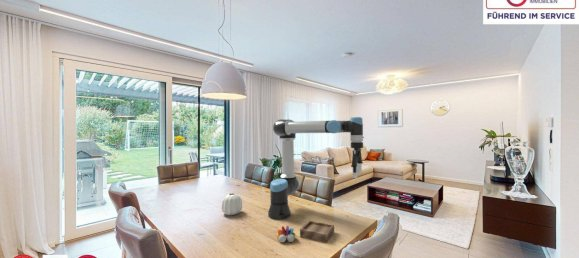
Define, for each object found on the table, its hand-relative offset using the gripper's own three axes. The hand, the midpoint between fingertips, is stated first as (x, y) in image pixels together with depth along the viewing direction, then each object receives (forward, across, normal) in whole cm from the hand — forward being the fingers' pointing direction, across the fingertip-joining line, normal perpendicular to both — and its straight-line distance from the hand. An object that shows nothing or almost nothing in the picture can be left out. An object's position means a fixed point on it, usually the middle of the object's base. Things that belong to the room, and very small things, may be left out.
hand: (357, 175), depth 147 cm
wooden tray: (+28, -29, +16) cm, 44 cm away
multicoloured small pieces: (+28, -41, +29) cm, 58 cm away
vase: (+28, -23, +81) cm, 89 cm away
